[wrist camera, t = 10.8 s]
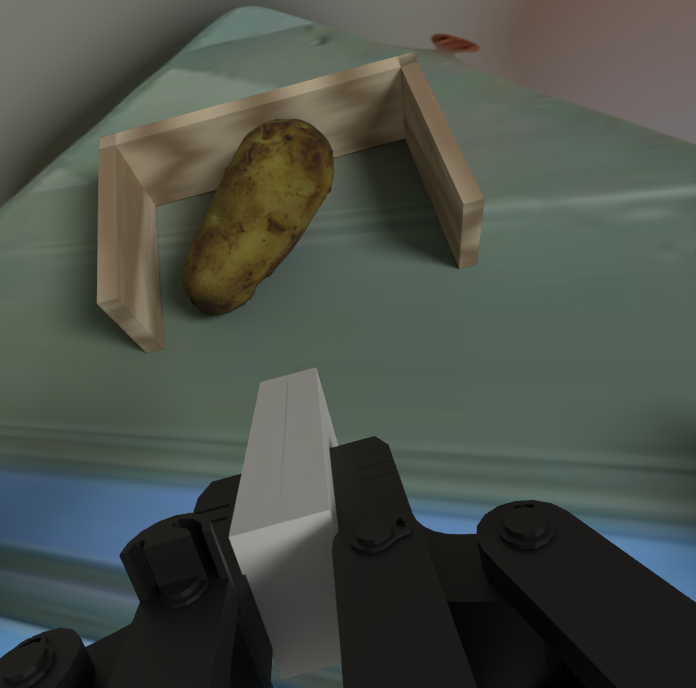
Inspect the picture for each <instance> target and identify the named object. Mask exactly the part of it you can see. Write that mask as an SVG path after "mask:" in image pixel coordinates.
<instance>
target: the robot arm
mask: <svg viewBox="0 0 696 688" xmlns="http://www.w3.org/2000/svg"><path fill="white" fill-rule="evenodd" d="M119 556H120V558H121V560H122V562H123V565H124V567H125V569H126V571H127V574H128V576H129V578H130V580H131V583H132V585H133V587H134V589H135V592H136V594H137V596H138V598H139V601H140V603H139V606H138V609H137V611H136V614H135V616H134V619H133V621H132V623H131V624H129V625H128V626H126V627H124V628H122V629H121V630H119V631H117V632H115V633H113V634H111V635H109V636H107V637H105V638H103V639H101V640H99V641H97V642H95V643H93V644H91V645H89V646H87V647H85V646H84V644H83V642H82V640H81V638H80V636H79V635H78V634H77V633H76V632H75V631H74V630H73V629H65V628H58V629H54V630H50V631H46V632H42V633H40V634H38V635H35V636H33V637H32V638H29V639H27V640H25V641H23V642H21V643H20V644H19V645H18V646H16V647H15V648H14V649H12V650H11V651H9V652H8V653H7V654H5V655H4V656H3V657H2V658H1V659H0V688H273V685H272V682H271V668H272V656H273V658H274V661H275V664H276V666H277V669H278V672H279V675H280V677H281V680H282V679H285V678H289V677H293V676H296V675H300V674H304V673H307V672H311V671H314V670H318V669H322V668H325V667H329V666H333V665H336V664H340V663H341V664H342V676H343V687H344V688H696V602H694V601H693V600H691V599H690V598H689V597H687V596H686V595H684V594H683V593H682V592H680V591H679V590H677V589H676V588H675V587H673V586H672V585H670V584H669V583H668V582H666V581H665V580H663V579H662V578H661V577H659V576H658V575H656V574H655V573H654V572H652V571H651V570H649V569H648V568H647V567H645V566H644V565H642V564H641V563H640V562H638V561H637V560H635V559H634V558H633V557H631V556H630V555H628V554H627V553H626V552H624V551H623V550H621V549H620V548H619V547H617V546H616V545H614V544H613V543H611V542H610V541H609V540H607V539H606V538H604V537H603V536H602V535H600V534H599V533H597V532H596V531H595V530H593V529H592V528H590V527H589V526H588V525H586V524H585V523H583V522H582V521H581V520H579V519H578V518H576V517H575V516H574V515H572V514H571V513H569V512H568V511H566V510H564V509H562V508H560V507H558V506H556V505H554V504H552V503H547V502H541V501H536V500H527V501H514V502H510V503H507V504H504V505H500V506H497V507H496V508H494V509H493V510H491V511H490V512H488V513H487V514H485V515H484V517H483V518H482V520H481V521H480V522H479V524H478V525H477V534H444V533H440V532H436V531H433V530H430V529H428V528H426V527H424V526H423V525H421V524H420V523H419V522H418V521H417V520H416V519H415V517H414V515H413V513H412V511H411V508H410V505H409V502H408V499H407V496H406V494H405V491H404V488H403V485H402V482H401V479H400V476H399V474H398V471H397V468H396V465H395V462H394V460H393V457H392V454H391V451H390V448H389V445H388V444H387V443H385V442H383V441H382V440H380V439H379V438H377V437H376V436H373V437H370V438H366V439H362V440H358V441H355V442H351V443H347V444H344V445H340V446H338V443H337V440H336V436H335V433H334V429H333V426H332V422H331V419H330V415H329V412H328V408H327V404H326V401H325V397H324V394H323V390H322V387H321V383H320V380H319V376H318V373H317V369H316V368H312V369H308V370H305V371H301V372H297V373H293V374H290V375H286V376H282V377H278V378H275V379H271V380H267V381H263V382H260V387H259V391H258V396H257V401H256V406H255V411H254V416H253V421H252V426H251V430H250V435H249V440H248V445H247V450H246V455H245V460H244V465H243V470H242V474H239V475H235V476H232V477H228V478H224V479H220V480H217V481H213V482H212V483H211V484H210V485H209V486H208V487H207V488H206V489H205V491H204V492H203V493H202V494H201V495H200V496H199V497H198V500H197V503H196V506H195V509H194V512H193V513H187V514H181V515H175V516H173V517H170V518H167V519H165V520H162V521H159V522H157V523H155V524H154V525H152V526H150V527H148V528H147V529H145V530H143V531H142V532H140V533H139V534H138V535H137V536H136V537H135V538H133V539H132V540H131V541H130V542H129V543H128V544H127V545H126V547H125V548H124V549H123V551H122V552H121V553H120V555H119Z"/></svg>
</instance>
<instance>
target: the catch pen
mask: <svg viewBox="0 0 696 688" xmlns="http://www.w3.org/2000/svg"><path fill="white" fill-rule="evenodd" d="M274 119H300V120H303V121H306V122H308V123H310V124H311V125H313V126H314V127H315V128H316V129H318V130H319V131H320V132H321V133H323V135H324V136H325V137H326V138H327V140H328V141H329V143H330V145H331V147H332V150H333V158H335V157H339V156H342V155H346V154H350V153H353V152H357V151H361V150H364V149H368V148H372V147H375V146H379V145H383V144H387V143H390V142H394V141H398V140H401V139H405V140H406V143H407V145H408V147H409V150H410V152H411V155H412V157H413V159H414V162H415V164H416V167H417V169H418V171H419V174H420V176H421V179H422V181H423V183H424V186H425V188H426V191H427V193H428V195H429V198H430V200H431V203H432V205H433V207H434V210H435V212H436V215H437V217H438V219H439V222H440V224H441V227H442V229H443V231H444V234H445V236H446V239H447V241H448V243H449V246H450V248H451V251H452V253H453V255H454V258H455V260H456V263H457V265H458V267H459V269H460V268H464V267H467V266H471V265H475V264H477V259H478V250H479V242H480V233H481V225H482V216H483V208H484V197H483V195H482V192H481V190H480V188H479V186H478V184H477V182H476V180H475V178H474V176H473V174H472V172H471V170H470V168H469V166H468V164H467V162H466V160H465V158H464V156H463V153H462V151H461V149H460V147H459V145H458V143H457V141H456V139H455V137H454V135H453V133H452V131H451V129H450V127H449V125H448V123H447V121H446V119H445V117H444V114H443V112H442V110H441V108H440V106H439V104H438V102H437V100H436V98H435V96H434V94H433V92H432V90H431V88H430V86H429V84H428V82H427V80H426V77H425V75H424V73H423V71H422V69H421V67H420V65H419V63H418V61H417V59H416V57H415V55H414V53H413V52H411V53H407V54H404V55H400V56H396V57H393V58H389V59H385V60H382V61H378V62H374V63H371V64H367V65H363V66H360V67H356V68H352V69H349V70H345V71H342V72H338V73H334V74H331V75H327V76H323V77H320V78H316V79H312V80H309V81H305V82H301V83H298V84H294V85H290V86H287V87H283V88H279V89H276V90H272V91H268V92H265V93H261V94H257V95H254V96H250V97H247V98H243V99H239V100H236V101H232V102H228V103H225V104H221V105H217V106H214V107H210V108H206V109H203V110H199V111H195V112H192V113H188V114H184V115H181V116H177V117H173V118H170V119H166V120H162V121H159V122H155V123H152V124H148V125H144V126H141V127H137V128H133V129H130V130H126V131H122V132H119V133H115V134H111V135H108V136H104V137H100V138H99V168H98V253H97V304H98V305H99V306H100V307H101V308H102V309H103V310H104V311H105V312H106V313H107V314H108V315H109V316H110V317H111V318H112V319H113V320H114V321H115V322H116V323H117V324H118V325H119V326H120V327H121V328H122V329H123V330H124V331H125V332H126V333H127V334H128V335H129V336H130V337H131V338H132V339H133V340H134V341H135V342H136V343H137V344H138V345H139V346H140V347H141V348H142V349H143V350H144V351H145V352H146V353H148V352H152V351H155V350H159V349H163V348H164V340H163V324H162V308H161V291H160V275H159V259H158V243H157V226H156V210H155V206H159V205H162V204H166V203H170V202H173V201H177V200H181V199H184V198H188V197H192V196H195V195H199V194H203V193H206V192H210V191H214V190H217V188H218V186H219V184H220V182H221V180H222V178H223V175H224V173H225V168H226V167H228V166H229V164H230V162H231V161H232V159H233V157H234V154H235V152H236V151H237V149H238V147H239V145H240V144H241V142H242V140H243V139H244V137H245V136H246V135H247V134H248V133H249V132H250V131H252V130H253V129H254V128H256V127H258V126H259V125H261V124H263V123H266V122H268V121H271V120H274Z"/></svg>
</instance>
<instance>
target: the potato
mask: <svg viewBox="0 0 696 688" xmlns="http://www.w3.org/2000/svg"><path fill="white" fill-rule="evenodd" d="M333 179H334V160H333V150H332V147H331V145H330V143H329V141H328V140H327V138H326V137H325V136H324V135H323V133H321V132H320V131H319V130H318V129H316V128H315V127H314V126H313V125H311V124H310V123H308V122H306V121H303V120H300V119H274V120H271V121H268V122H266V123H263V124H261V125H259V126H258V127H256V128H254V129H253V130H252V131H250V132H249V133H248V134H247V135H246V136H245V137H244V139H243V140H242V142H241V144H240V145H239V147H238V149H237V151H236V152H235V154H234V157H233V159H232V161H231V162H230V164H229V166H228V167H226V168H225V173H224V175H223V178H222V180H221V182H220V184H219V186H218V188H217V190H216V192H215V195H214V197H213V199H212V202H211V204H210V207H209V209H208V211H207V213H206V215H205V217H204V219H203V221H202V223H201V225H200V227H199V229H198V231H197V233H196V235H195V237H194V240H193V242H192V244H191V246H190V249H189V252H188V255H187V259H186V263H185V268H184V275H183V286H184V289H185V292H186V294H187V295H188V296H189V297H190V299H191V302H192V303H193V304H195V305H196V306H197V307H198V308H199V310H201V311H202V312H204V313H206V314H208V315H210V316H211V315H220V314H225V313H228V312H230V311H233V310H235V309H237V308H238V307H240V306H242V305H244V304H245V303H246V302H247V301H248V300H250V298H251V297H252V296H253V294H254V292H255V289H256V287H257V285H258V284H259V283H260V282H261V281H262V280H264V279H265V278H267V277H269V276H270V275H271V274H272V273H273V272H274V270H275V269H276V268H277V267H278V265H279V264H280V263H281V262H282V261H283V260H284V259H285V258H286V256H287V255H288V254H289V253H290V251H291V250H292V249H293V248H294V246H295V245H296V243H297V242H298V241H299V239H300V238H301V236H302V235H303V233H304V232H305V230H306V228H307V227H308V225H309V223H310V222H311V220H312V218H313V217H314V215H315V214H316V212H317V210H318V209H319V207H320V206H321V204H322V203H323V201H324V199H325V198H326V196H327V194H328V193H329V192H330V191H331V186H332V182H333Z"/></svg>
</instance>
